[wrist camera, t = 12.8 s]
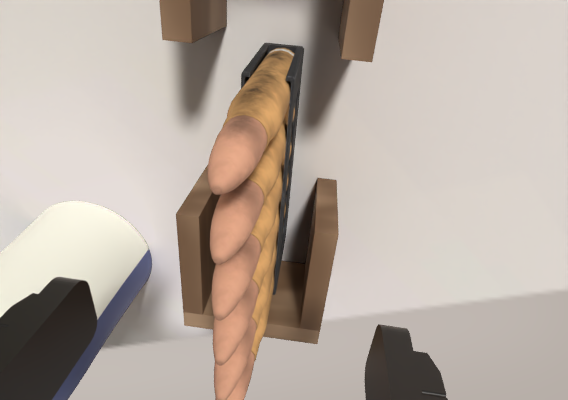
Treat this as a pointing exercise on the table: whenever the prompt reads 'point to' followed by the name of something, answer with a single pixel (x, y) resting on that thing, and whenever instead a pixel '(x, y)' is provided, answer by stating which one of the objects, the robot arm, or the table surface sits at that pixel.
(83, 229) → the water bottle
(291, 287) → the end cap
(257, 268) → the ammunition clip
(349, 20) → the end cap
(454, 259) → the table surface
